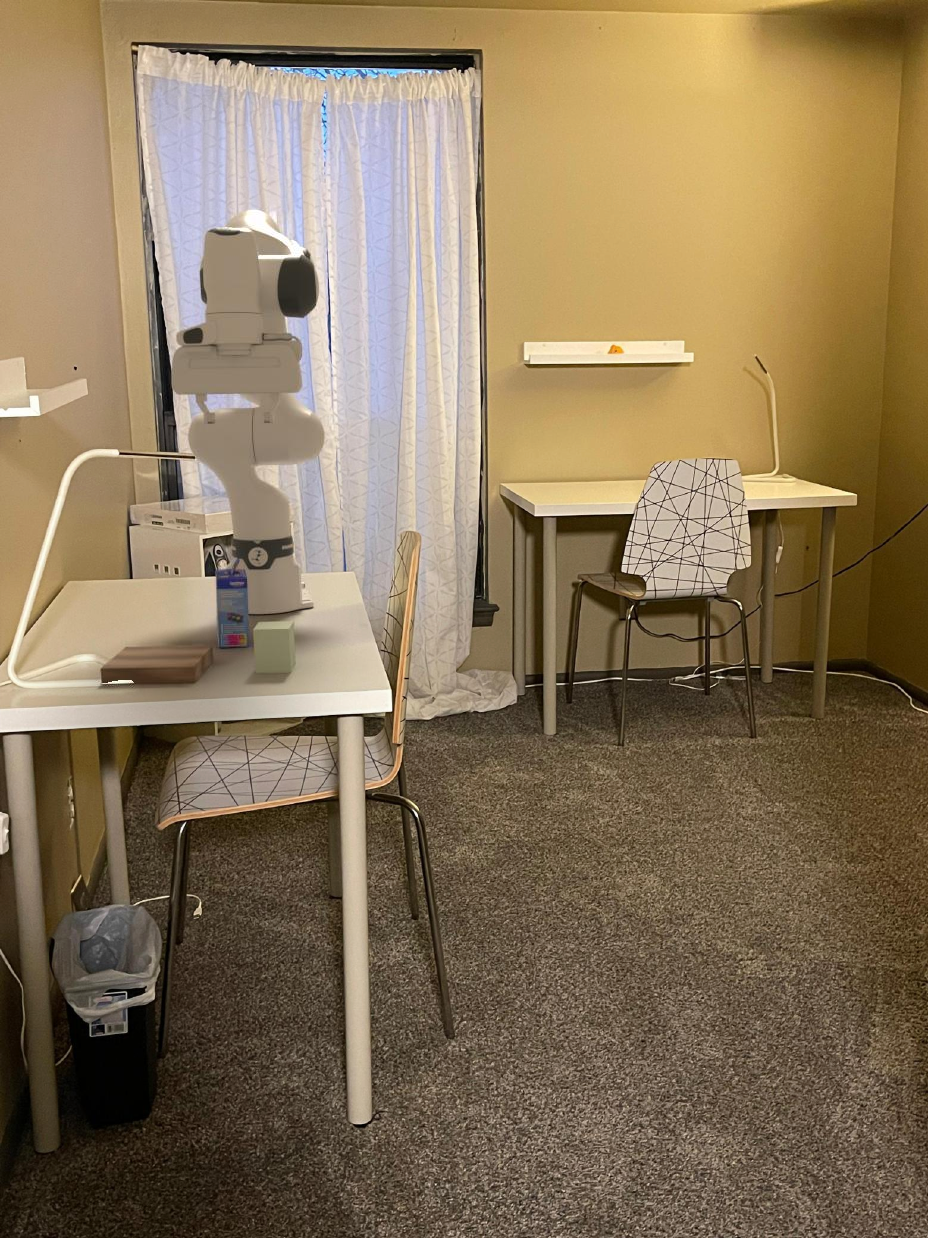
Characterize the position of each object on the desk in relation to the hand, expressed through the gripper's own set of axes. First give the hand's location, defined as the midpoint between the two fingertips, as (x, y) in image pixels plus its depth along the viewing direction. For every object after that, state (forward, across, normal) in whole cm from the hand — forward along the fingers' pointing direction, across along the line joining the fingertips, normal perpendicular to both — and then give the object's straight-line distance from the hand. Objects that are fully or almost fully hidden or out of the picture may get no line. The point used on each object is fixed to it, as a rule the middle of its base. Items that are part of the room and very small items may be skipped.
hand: (239, 423), depth 184 cm
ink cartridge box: (+38, +5, -10) cm, 39 cm away
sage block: (+38, -5, +9) cm, 39 cm away
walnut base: (+38, +13, +10) cm, 41 cm away
